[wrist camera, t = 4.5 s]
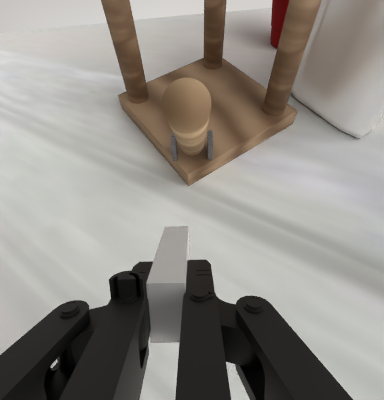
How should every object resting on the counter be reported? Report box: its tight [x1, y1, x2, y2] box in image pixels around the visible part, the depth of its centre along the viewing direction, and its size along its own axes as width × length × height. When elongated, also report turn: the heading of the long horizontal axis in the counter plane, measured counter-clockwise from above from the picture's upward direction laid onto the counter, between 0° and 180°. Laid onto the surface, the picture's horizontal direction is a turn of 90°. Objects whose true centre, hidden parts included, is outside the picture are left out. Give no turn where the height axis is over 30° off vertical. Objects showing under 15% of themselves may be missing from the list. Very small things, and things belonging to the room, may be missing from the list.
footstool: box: [101, 0, 322, 185], centre depth 33 cm, size 20×20×21 cm
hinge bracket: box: [171, 130, 213, 161], centre depth 33 cm, size 2×5×3 cm, turn 90°
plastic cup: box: [271, 0, 289, 48], centre depth 47 cm, size 11×11×12 cm
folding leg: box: [162, 78, 211, 156], centre depth 24 cm, size 3×3×16 cm
